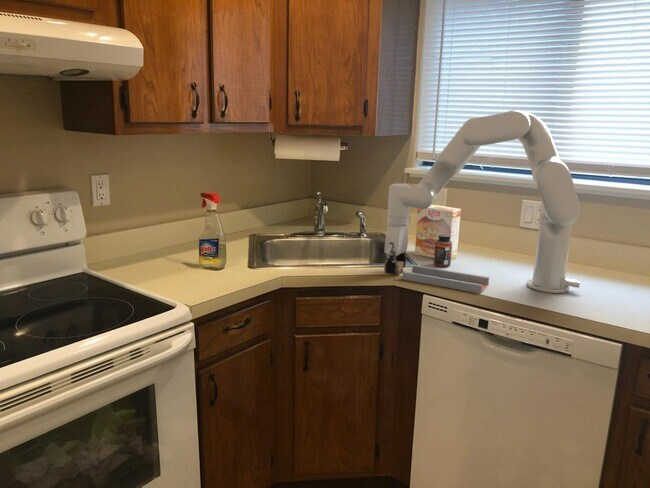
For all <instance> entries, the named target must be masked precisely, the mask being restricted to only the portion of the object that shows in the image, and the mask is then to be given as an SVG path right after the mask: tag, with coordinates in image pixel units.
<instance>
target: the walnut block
mask: <svg viewBox="0 0 650 488" xmlns="http://www.w3.org/2000/svg"><path fill="white" fill-rule="evenodd" d="M395 262H396V269H395V274H390V273H386V261H385V262H384V268H383V269H384V270H383V271H384V272H383V274H384V275H388V276H389V275H390V276H396V277H398V276H401V275H403V272H404V268H403V266H404V262H401V261H397V260H395Z"/></svg>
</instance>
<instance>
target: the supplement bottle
mask: <svg viewBox="0 0 650 488" xmlns="http://www.w3.org/2000/svg"><path fill="white" fill-rule="evenodd" d="M451 252H452V242H451V241H450V235H446V234H440V235H439V240H437V241H436V244H435V257H434V258H433V264H434V265H435V266H436V267H438V268H439V267H440V268H448V267H450V266H451V264H452V260H451Z"/></svg>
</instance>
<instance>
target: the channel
mask: <svg viewBox="0 0 650 488" xmlns="http://www.w3.org/2000/svg"><path fill="white" fill-rule="evenodd" d="M411 268H412V269H411V271H406V270H405V271H404V270H403V273H402V274H401V275H402V277H401V280H404V281H409V282H410V281H411V282H415V283H416V282H417V283H421V284H427V285H430V286H431V285H432V286H438V287H443V288H450V289H455V290H460V291H465V292H470V293H477V294H482V293H483V292H484V291H485V290H486V288H487V287H488V286H489V285H490V276H484V275H479V274H478V275H477V274H472V273H465V272H461V271H460V272H459V271H452V270H447V269H441V268H435V267H429V266H428V267H427V266H423V265H417V264H413V265H412V266H411Z"/></svg>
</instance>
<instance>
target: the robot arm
mask: <svg viewBox="0 0 650 488" xmlns="http://www.w3.org/2000/svg"><path fill="white" fill-rule="evenodd" d="M516 140H518V141H520V142H521V144H522V146H523V149H524V152H525V155H526V156H527V157H526V158H527V160H528V164H529V166H530V171H531V175H532V180H533V181H534V184H535V185H536V186H537V189H538V191H539V196H540V198H541V202H540V205H539V220H538V221H539V224H538V235H537V240H536V248H535V249H536V250H535V257H534V267H533V275H532V278H530V279H528V280H527V281H526V285H527V286H528V288H530V289H533V290H535V291H538V292H543V293H548V294H562V293H567V292H569V290H570V287H572V288H577V289H579V288H580V286H581V281H578V280H576V279H570V278H569V277H568V274H566V273H567V267H568V266H567V265H568V259H569V253H570V252H569V251H570V244H571V237H572V229H573V228H572V227H573V224H574V223H575V222H576V221H577V220H578V218H579V217H580V214H581V205H580V200H579V197H578V194H577V191H576V188H575V187H576V186H575V183H574V179H573V178H572V175H571V172H570V170H569V167H568V166H567V165H566V163H564V162H563V161H562V160H561V159H560V156H559V153H558V150H557V148H556V145H555V142H554V139H553V137H552V134H551V132H550V129H549V127H548V126H547V125H546V124H545V122H544V121H542V120H541V118H539V117H538V116H536V115H535V114H532V113H530V112H527V111H522V110H518V109H516V110H515V109H511V110H508V111H506V112H501V113H496V114H495V113H494V114H491V115H486V116H480V117H478V116H477V117H472V118H469V119H468V120H465V122H464V123H463V124H462V126H461V127H460V128H459V129H458V131H456V133H455V134H454V136H453V137H452V138H451V139H450V140H449V142H448V143H447V144H446V146H445V147H444V148H443V149H442V150H441V152H440V153H439V155H438V156H437V158H436V159H435V162H434V163H433V165H432V166H431V167H430V168H429V170H428V171H427V173H426V174H425V175H424V176H423V177H422V179H421V180H420V181H419V182H418V183H417V185H416V186H411V185H409V184H407V183H393V184H390V185H389V188H388V207H387V221H386V222H387V223H386V225H387V228H386V234H385V241H384V251H383V252H384V254H385V258H386V259H385V262H386V273H390V274H395V269H396V262H395V261H401V262H404V266H403V269H404V268H406V261H407V259H406V258H407V251H408V243H409V226H410V223H411V208H414V209H418V208H419V209H425V208H428V207H430V206H431V205H434V202H435V198H436V197H437V196H438V195H439V193H441V191H442V190H443V188H444V187H446V185H447V184H448V183H449V182H450V180H451V179H452V178H453V177H455V176H456V175H457V174H459V173H460V172H461V171H462V170H463V168H465V166H466V165H467V164H468V163H469V161H470V160H471V158H472V157H473V156H474V155H475V153H477V151H478V150H479V149H480V147H481V146H482V147H483V146H487V145H494V144H498V143H505V142H509V141H510V142H512V141H516Z"/></svg>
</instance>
